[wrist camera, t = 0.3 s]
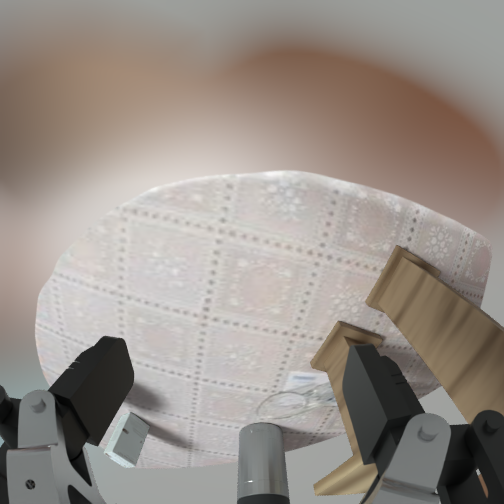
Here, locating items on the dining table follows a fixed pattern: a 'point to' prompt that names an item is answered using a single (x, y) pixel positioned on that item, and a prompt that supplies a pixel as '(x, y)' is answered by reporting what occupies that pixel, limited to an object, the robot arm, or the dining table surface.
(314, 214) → the dining table surface
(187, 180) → the dining table surface
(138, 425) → the skincare box
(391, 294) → the pedestals
